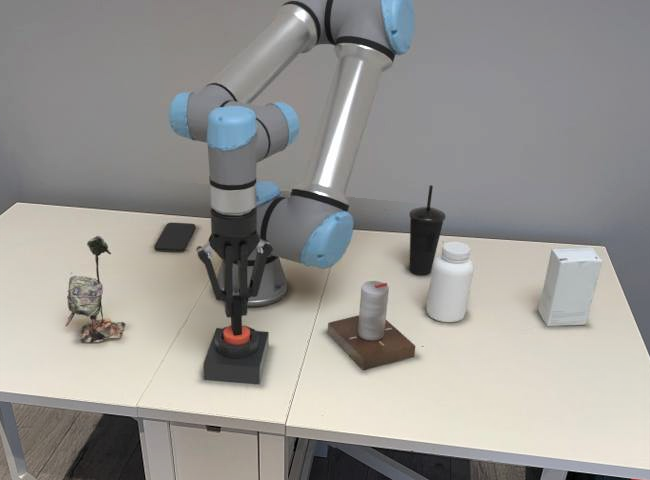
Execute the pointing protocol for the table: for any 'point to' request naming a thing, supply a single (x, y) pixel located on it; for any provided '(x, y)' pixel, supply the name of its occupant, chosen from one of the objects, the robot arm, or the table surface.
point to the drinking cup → (424, 237)
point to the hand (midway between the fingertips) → (236, 330)
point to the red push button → (236, 336)
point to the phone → (175, 237)
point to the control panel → (370, 344)
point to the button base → (236, 358)
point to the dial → (373, 310)
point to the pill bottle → (450, 283)
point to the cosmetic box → (569, 286)
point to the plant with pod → (91, 301)
